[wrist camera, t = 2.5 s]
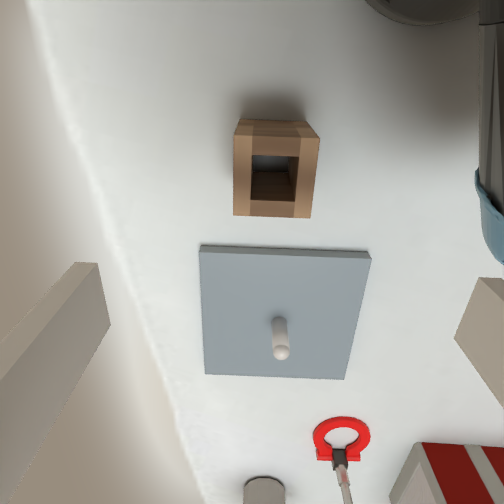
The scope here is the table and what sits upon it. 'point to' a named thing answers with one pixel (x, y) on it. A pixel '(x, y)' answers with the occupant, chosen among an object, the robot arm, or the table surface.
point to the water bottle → (264, 492)
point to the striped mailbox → (451, 475)
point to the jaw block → (274, 183)
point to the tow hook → (341, 456)
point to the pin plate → (280, 310)
